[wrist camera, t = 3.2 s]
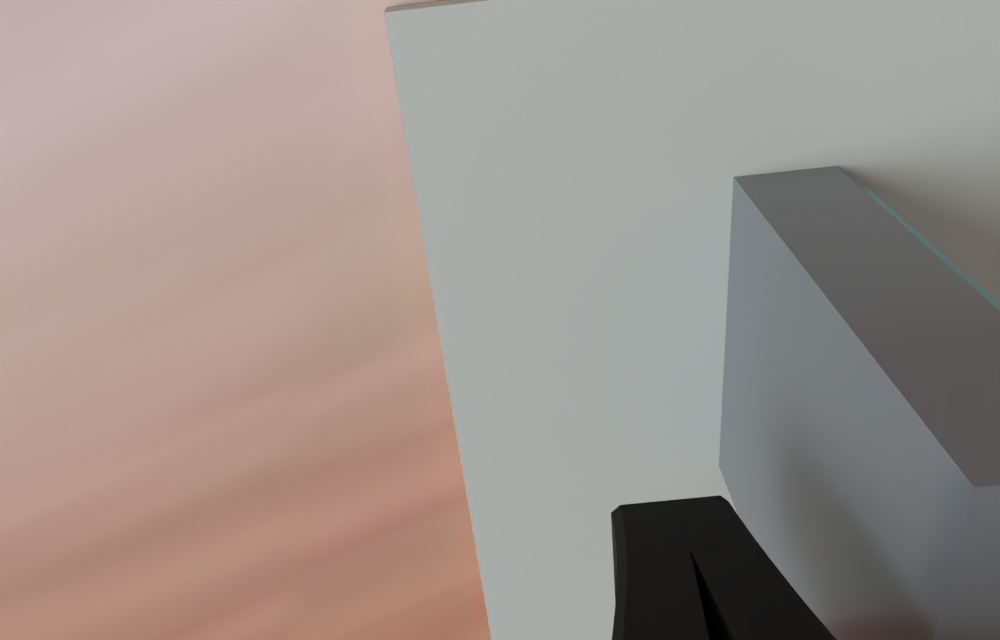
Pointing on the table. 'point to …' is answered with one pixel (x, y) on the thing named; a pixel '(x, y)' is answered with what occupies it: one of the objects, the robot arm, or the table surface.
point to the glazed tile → (862, 411)
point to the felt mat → (648, 232)
